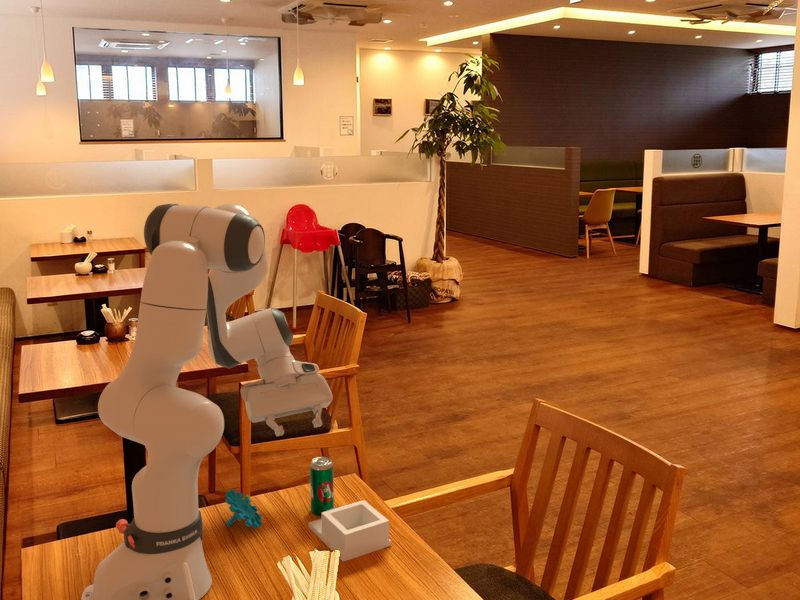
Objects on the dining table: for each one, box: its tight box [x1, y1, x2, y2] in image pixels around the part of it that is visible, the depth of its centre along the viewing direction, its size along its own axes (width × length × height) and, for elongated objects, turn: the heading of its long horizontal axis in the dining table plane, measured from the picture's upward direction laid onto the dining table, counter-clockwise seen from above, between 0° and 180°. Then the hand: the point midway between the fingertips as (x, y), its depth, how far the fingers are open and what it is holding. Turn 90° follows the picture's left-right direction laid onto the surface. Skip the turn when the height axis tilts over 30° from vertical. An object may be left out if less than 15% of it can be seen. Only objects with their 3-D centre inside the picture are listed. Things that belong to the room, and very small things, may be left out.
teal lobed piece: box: [224, 489, 263, 530], centre depth 162 cm, size 11×6×10 cm
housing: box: [308, 499, 392, 563], centre depth 158 cm, size 11×15×6 cm
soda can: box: [309, 456, 335, 517], centre depth 167 cm, size 5×5×12 cm
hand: (299, 430), depth 173 cm, fingers open, 8 cm apart
